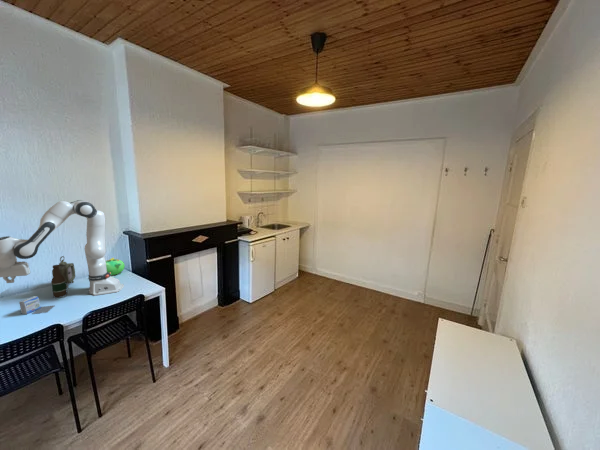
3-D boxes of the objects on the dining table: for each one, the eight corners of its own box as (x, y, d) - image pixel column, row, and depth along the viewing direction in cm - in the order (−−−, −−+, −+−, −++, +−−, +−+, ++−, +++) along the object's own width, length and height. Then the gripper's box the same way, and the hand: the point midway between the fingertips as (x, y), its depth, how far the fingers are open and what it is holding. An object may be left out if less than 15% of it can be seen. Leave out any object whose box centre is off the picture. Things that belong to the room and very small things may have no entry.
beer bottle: (55, 298, 186) (50, 268, 181) (52, 295, 190) (46, 265, 185) (69, 294, 192) (64, 264, 187) (65, 292, 196) (60, 262, 191)
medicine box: (26, 314, 165) (23, 302, 163) (21, 313, 166) (18, 301, 164) (41, 308, 173) (38, 296, 171) (36, 307, 174) (33, 295, 172)
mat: (55, 305, 177) (55, 305, 177) (47, 312, 168) (47, 312, 168) (40, 307, 174) (40, 306, 174) (31, 314, 166) (31, 313, 166)
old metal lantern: (69, 288, 201) (64, 259, 196) (54, 290, 198) (49, 260, 193) (76, 281, 214) (72, 253, 209) (62, 282, 211) (58, 254, 206)
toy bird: (126, 269, 243) (124, 255, 240) (124, 276, 228) (122, 260, 225) (102, 272, 234) (100, 257, 231) (99, 279, 219) (97, 263, 216)
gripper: (31, 259, 166) (34, 279, 169) (-11, 261, 160) (-7, 282, 163) (24, 262, 160) (27, 283, 163) (-20, 265, 154) (-15, 286, 157)
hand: (10, 282), depth 163 cm, fingers closed
